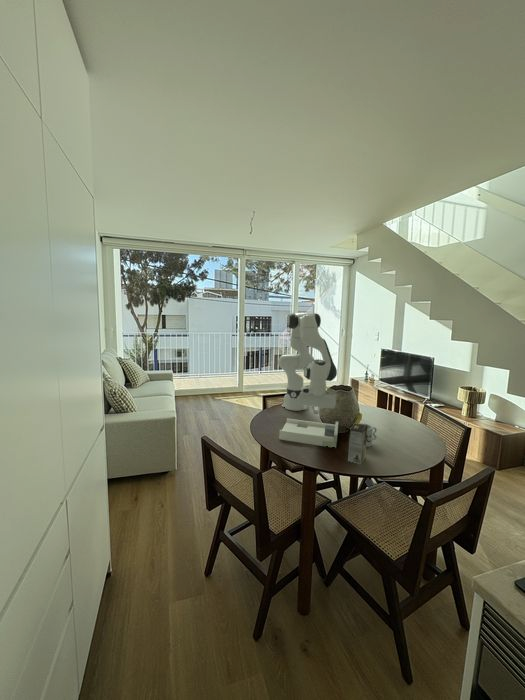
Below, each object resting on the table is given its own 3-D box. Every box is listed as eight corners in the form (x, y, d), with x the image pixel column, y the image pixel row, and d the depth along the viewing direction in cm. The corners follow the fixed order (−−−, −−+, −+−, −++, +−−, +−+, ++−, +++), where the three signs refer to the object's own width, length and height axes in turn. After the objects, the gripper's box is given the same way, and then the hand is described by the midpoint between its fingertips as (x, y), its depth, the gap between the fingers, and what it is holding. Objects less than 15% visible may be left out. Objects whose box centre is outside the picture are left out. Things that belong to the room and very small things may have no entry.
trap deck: (286, 426, 184) (287, 415, 183) (337, 433, 176) (338, 421, 175) (279, 439, 165) (279, 426, 164) (335, 448, 157) (336, 435, 156)
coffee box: (351, 453, 151) (354, 422, 149) (365, 457, 148) (367, 425, 146) (347, 461, 143) (349, 428, 141) (361, 465, 140) (364, 431, 138)
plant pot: (358, 426, 189) (360, 410, 187) (362, 432, 178) (363, 416, 177) (341, 424, 190) (342, 409, 188) (344, 431, 179) (345, 415, 178)
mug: (360, 448, 157) (361, 430, 156) (350, 441, 166) (352, 423, 164) (380, 446, 160) (382, 428, 159) (370, 439, 169) (371, 422, 168)
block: (325, 431, 170) (325, 424, 169) (334, 433, 168) (335, 426, 168) (324, 435, 165) (325, 428, 164) (334, 436, 163) (334, 429, 163)
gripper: (337, 390, 166) (335, 414, 168) (300, 386, 172) (298, 409, 174) (336, 393, 160) (334, 418, 162) (298, 389, 166) (296, 413, 168)
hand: (315, 413), depth 168 cm, fingers closed
